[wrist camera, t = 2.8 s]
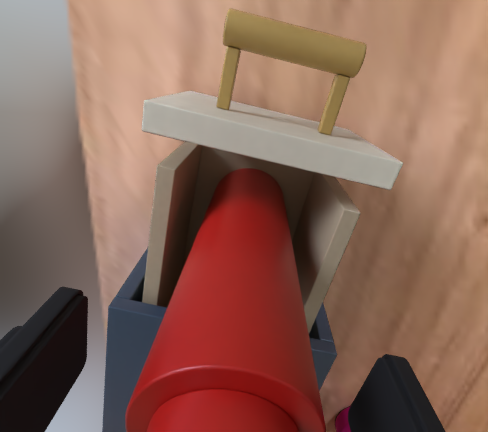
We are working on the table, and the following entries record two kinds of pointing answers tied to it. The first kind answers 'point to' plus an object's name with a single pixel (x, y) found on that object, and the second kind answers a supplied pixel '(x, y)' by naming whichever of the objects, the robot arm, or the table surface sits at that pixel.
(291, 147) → the drawer
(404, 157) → the table surface
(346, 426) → the pepper mill
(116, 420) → the dark blue angular piece
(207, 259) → the ketchup bottle
